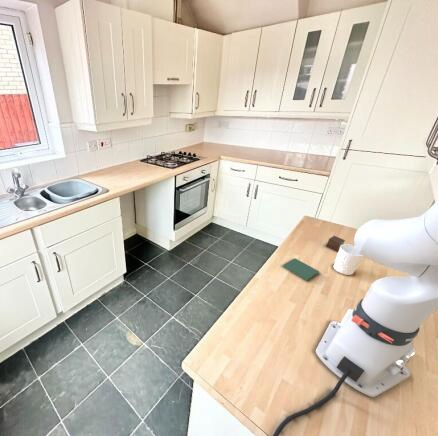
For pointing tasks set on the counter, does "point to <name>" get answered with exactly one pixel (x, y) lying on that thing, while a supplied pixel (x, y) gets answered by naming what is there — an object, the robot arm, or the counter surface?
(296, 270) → the flat green block
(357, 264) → the white cup
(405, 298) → the robot arm
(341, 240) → the walnut block
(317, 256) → the counter surface
